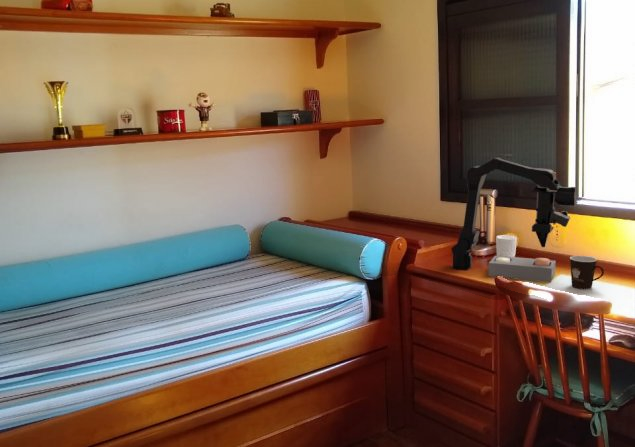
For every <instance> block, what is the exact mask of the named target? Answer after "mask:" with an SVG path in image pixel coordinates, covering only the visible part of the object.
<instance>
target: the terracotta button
mask: <svg viewBox="0 0 635 447" xmlns="http://www.w3.org/2000/svg"><path fill="white" fill-rule="evenodd" d="M534 259H535V265H541V266H549V263H550V260H551V259H549V258H547V257H536V258H534Z"/></svg>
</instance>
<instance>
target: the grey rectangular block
mask: <svg viewBox="0 0 635 447" xmlns="http://www.w3.org/2000/svg"><path fill="white" fill-rule="evenodd" d="M499 257H505V258H509V259H510V263H508V262H497V261H496V258H499ZM535 259H536V258H530V257H529V258H527V257H517V256H515V257H507V256H497V254H496V255H494V256H493V257H492V258H491V260H490V261H489V262H488V277H495V276H503V277H502V278H507V279H515V278H516V280H517V279H518V280H525V281H526V280H527V281H536V282H544V283H547V282H548V283H552V281H553V279H554V277H555V275H556V260H553V259H549V260H550V263H549V266H541V265H535Z"/></svg>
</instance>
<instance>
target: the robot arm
mask: <svg viewBox="0 0 635 447" xmlns="http://www.w3.org/2000/svg"><path fill="white" fill-rule="evenodd" d="M496 170H498V171H500V172H501V171H502V172H505V173H508V174H511V175H515V176H518V177H521V178H525V179H527V180H529V181H531V182H532V183H534V184H537V185H536V186H534V188H533V189H532V190H531V192H532V193H537V194H536V207H535V211H536V217H535V222H534V223H533V224H532V226H531V232H534V233H535V235H536V236H537V239H538V242H539V245H540V247H542V248H546V246H547V245H546V244H547V240H548V237H549V234H550V233H551V232H552V231H553V230H554V228H555V227H554V226H552V224H553V225H556V224H558V225H560V226H562V227H565V228H566V227H567V226H568V224H569V221H570V219H571V216H570V215H569V214H568V211H566V210H563V211H561V212H560V211H559V212H558V211H556V207H555V205H554V204H555V203H556V204H557V206H561V207H576V206H577V201H578V200H577V199H578V195H577V187H576V186H562V185H561V183H560V182H559V180H558V179H557V176H556V172H555V171H554V170H552V169H550V168H542V167H541V168H540V167H531V166H526V165H523V164H520V163H517V162H512V161H510V160H506V159H503V158H501V157H494V158H492V159H491V160H489V161H487V162H485V163H484V164H482V165H476V166H473V167H471V168H469V169H468V170H467V171H466V175H465V176H466V186H467V190H468V191H467V197H466V203H465V204H466V205H465V206H466V207H465V213H464V220H463V227H462V229H461V231H460V233H459V235H458V239H457V243H456V244H455V245H454V246H453V247H452V248H450V249H451V252H452V266H451V269H456V270H465V271H468V270H470V268H472V266H473V255H471V254H472V252H471V251H472V248H473V247H474V246H476V244H477V243H478V242H479V235H480V230H477V229H476V222H477V216H478V210H479V209H478V208H479V200H480V193H481V190H482V187H483V185H484V183H485V180H486V178H487V175H488V174H491V173H492V172H494V171H496Z"/></svg>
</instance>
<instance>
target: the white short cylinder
mask: <svg viewBox="0 0 635 447" xmlns="http://www.w3.org/2000/svg"><path fill="white" fill-rule="evenodd" d="M496 261H497V262H508V263H510V259H509V258H505V257H499V258H496Z"/></svg>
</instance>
